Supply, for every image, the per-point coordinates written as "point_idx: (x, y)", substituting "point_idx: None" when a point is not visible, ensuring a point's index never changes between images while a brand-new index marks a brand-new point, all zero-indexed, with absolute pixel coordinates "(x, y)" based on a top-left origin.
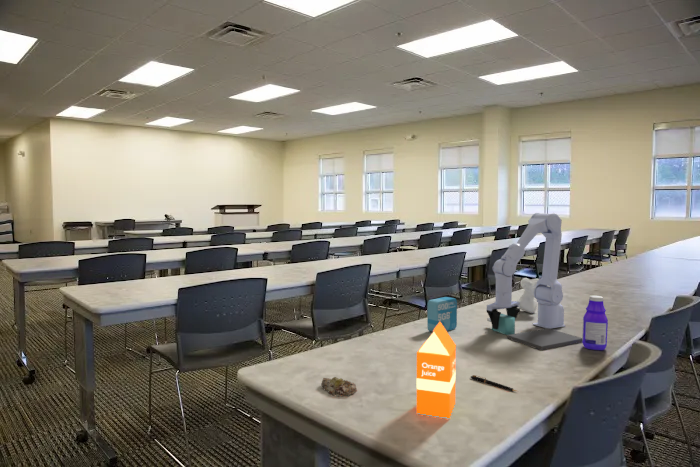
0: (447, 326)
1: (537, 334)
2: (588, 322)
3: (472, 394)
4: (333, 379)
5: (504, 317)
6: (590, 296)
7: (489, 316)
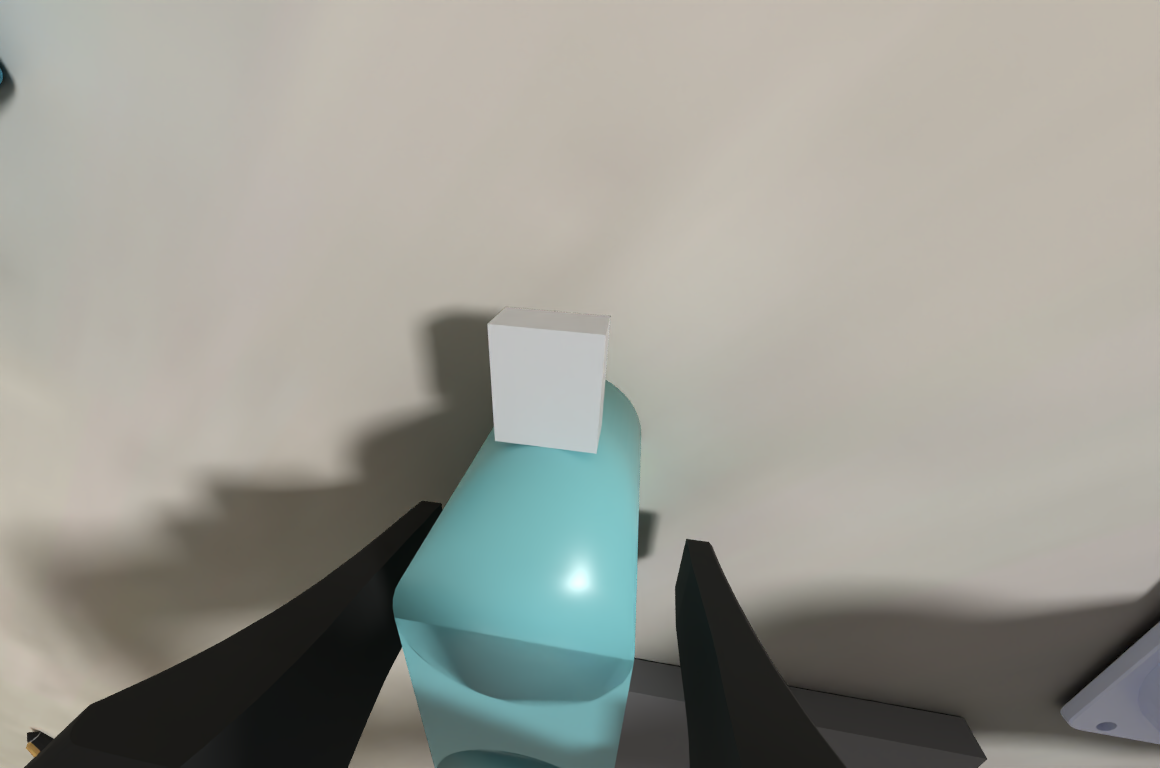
0: None
1: (668, 756)
2: None
3: (27, 761)
4: None
5: (454, 763)
6: None
7: (251, 631)
